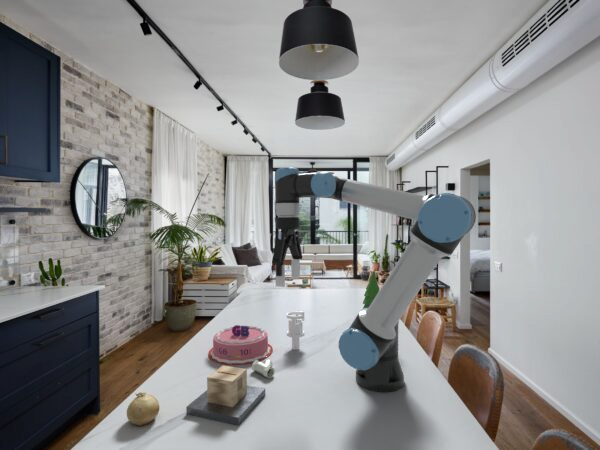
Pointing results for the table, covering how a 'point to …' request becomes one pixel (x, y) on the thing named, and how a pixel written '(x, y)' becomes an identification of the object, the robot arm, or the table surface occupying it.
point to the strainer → (295, 328)
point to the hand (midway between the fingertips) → (288, 282)
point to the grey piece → (226, 407)
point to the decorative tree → (371, 291)
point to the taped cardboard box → (227, 385)
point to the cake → (240, 346)
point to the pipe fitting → (263, 368)
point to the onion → (142, 409)
